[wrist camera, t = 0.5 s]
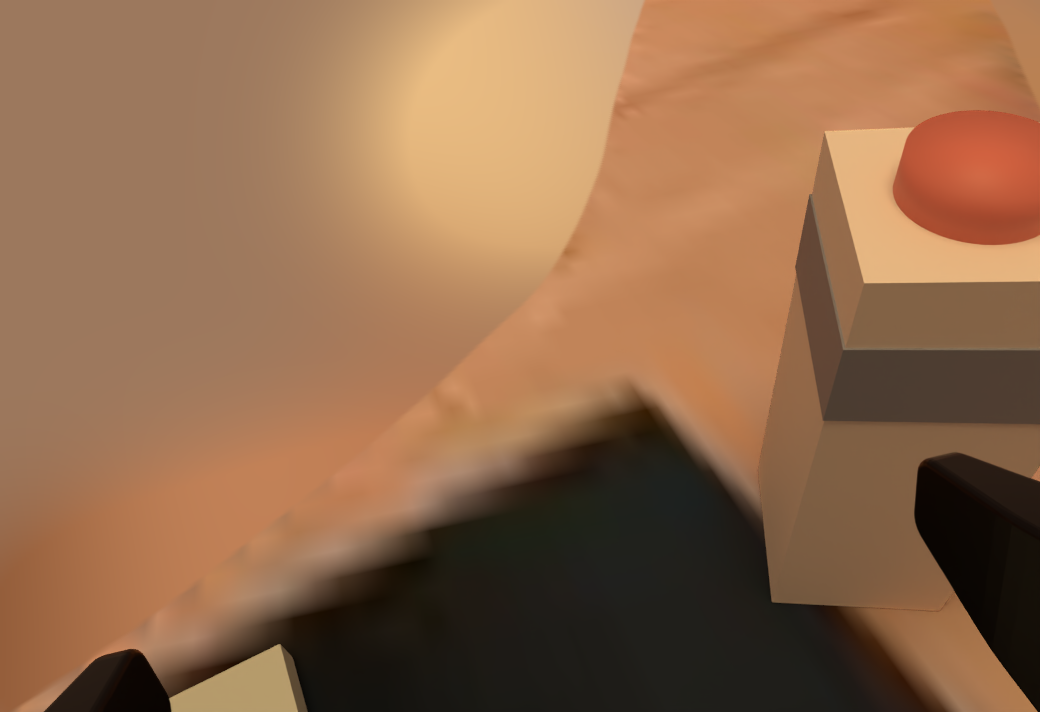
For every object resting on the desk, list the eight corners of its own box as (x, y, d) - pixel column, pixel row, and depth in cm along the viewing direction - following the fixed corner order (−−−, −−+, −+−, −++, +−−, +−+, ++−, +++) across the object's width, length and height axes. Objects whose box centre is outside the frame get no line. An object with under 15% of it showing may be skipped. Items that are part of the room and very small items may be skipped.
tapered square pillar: (941, 612, 24) (1202, 238, 13) (770, 603, 25) (873, 243, 14) (906, 472, 27) (1088, 76, 16) (756, 468, 28) (829, 90, 17)
